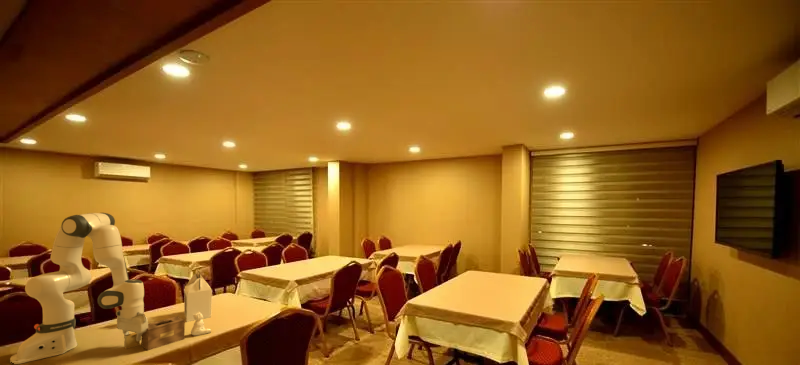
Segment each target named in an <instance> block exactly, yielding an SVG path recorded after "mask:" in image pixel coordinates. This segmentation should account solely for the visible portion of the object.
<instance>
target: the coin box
mask: <svg viewBox="0 0 800 365" xmlns="http://www.w3.org/2000/svg"><path fill="white" fill-rule="evenodd" d="M185 322H186V319H183V318H181V317H179V316H177V315H176V316H173V317H169V318H165V319H161V320H159V321H154V322H150V323H149V322H148V328H147V331H146V332H144V333H143V334H142V336H141V340H140V344H141V346H142V347H143V348H144V349H145V350H147V351H150V350H154V349H157V348H160V347H163V346H167V345H170V344H173V343H176V342H179V341H183V340H185V328H186V327H185V326H186V324H185Z"/></svg>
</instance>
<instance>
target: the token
mask: <svg viewBox="0 0 800 365" xmlns="http://www.w3.org/2000/svg"><path fill="white" fill-rule="evenodd" d="M136 337H137V334H136V332H132V333H129V334H128V335H125V338H124V341H123V342H124V343H123V344H124V345H123V347H124V349H126V350H128V349H131V348H134V347H137V346H140V344H141V340H140V341H135V338H136Z"/></svg>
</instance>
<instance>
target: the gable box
mask: <svg viewBox="0 0 800 365" xmlns="http://www.w3.org/2000/svg"><path fill="white" fill-rule="evenodd" d="M193 273H194V274H193V275H192V277H191V278H190V279H189V281H188V282H187V283H186V285H185V286H184V305H183V306H184V311H183V314H184V317H185V322H187V323H188V322H195V321H196V320H195V319H194V317H193V314H196V313H197V312H200V313H201V314H202V316H203V318H202V319H209V318H211V317H212V295H213V294H212V293H213V292H212V291H213V290H212V288H211V286H210V285H209V283H208V282H207V281H206V280H205V278H204V277H203V275H202V274H201V273H200V271H199V270H198V269H196V271H194V272H193Z"/></svg>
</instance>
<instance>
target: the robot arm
mask: <svg viewBox="0 0 800 365" xmlns="http://www.w3.org/2000/svg"><path fill="white" fill-rule="evenodd" d="M115 224H116V219H115V217H114V216H113V215H112V214H111V213H107V212H89V213H88V212H87V213H82V214H74V215H73V214H72V215H70V216H68V217H65V218H64V219H63V221H62V222H61V226H60V227H59V229H58V231H57V233H56V235H55V237H54V241H53V245H52V250H51V253H50V261H51V262H52V263H53V264H54V265H55V264H56V265H59V270H57V271H54V272H47V273H42V274H39V275H36V276H34V277H31V278H30V279H29V280H27V282H26V284H25V288H24V291H25V294H27V295H28V296H29V297H30V298H32V299H35V300H37V302H39V304H40V306H41V308H42V323H40V324H39V323H36V324H34V325H33V328H34V329H35V333H34V334H32V335H31V336H30V337H28V338H27V339H25V340H24V341H23V342H21V344H20V345H19V347H18V349H17V353H15V354H13V355H12V356H10V358H9V363H11V362H12V363H14V365H19V364H25V363H28V362H32V361H37V360H41V359H45V358H51V357H55V356H59V355H62V354H65V353H66V352H68V351H70V350H73V349H74V348H75V347H77V346H78V342H77V339H76V334H75V328H76V317H75V307H76V306H75V302H74V301H72V299H71V300H70V299H67V298H65V296H64V293H65V292H70V291H75V290H78V289H80V288H83V287H85V286H87V285H89V283H90V282H91V280H92V272H91V271H90V270H89V269H88V268H86V267H85V266H84V264H83V262H82V256H83V255H82V254H83V249H84V245H85V241H86V240H85V239H86V237H88V238H90V240H91V242H92V252H93V258H94V260H95V262H96V263H98V264H101V265H103V266H106V267H107V268H108V269H109V270H110V272H111V276H112V282H113V285H112V287H111V288H108V289H106V290H104V291H103V292H101V293H100V294H98V297H97V304H98V306H99V307H100V308H102V309H104V310H108V309H113V308H117V307H121V309H120V310H117V311H116V312H115V315H116V316H117V317H116V327H117V329H118V330H122V333H123V339H125V335H128V334H130V333H129V332H132V333H135V332H136V334H137V337H136V338H135V341H140V342H141V336H142V334H143V333H144V332H146V331H147V328H148V324H149V320H148V317H147V316H146V315H145V308H144V307H145V303H144V297H145V288H144V287H145V286H144V282H143V281H142V280H140V279H136V278H135V279H134V278H133V279H130V278H129V272H128V269H127V264H126V260H125V257H124V252H123V243H122V238H121V234H120V230H119V229H118V227H117V226H116V225H115ZM12 363H11V364H12Z"/></svg>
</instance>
